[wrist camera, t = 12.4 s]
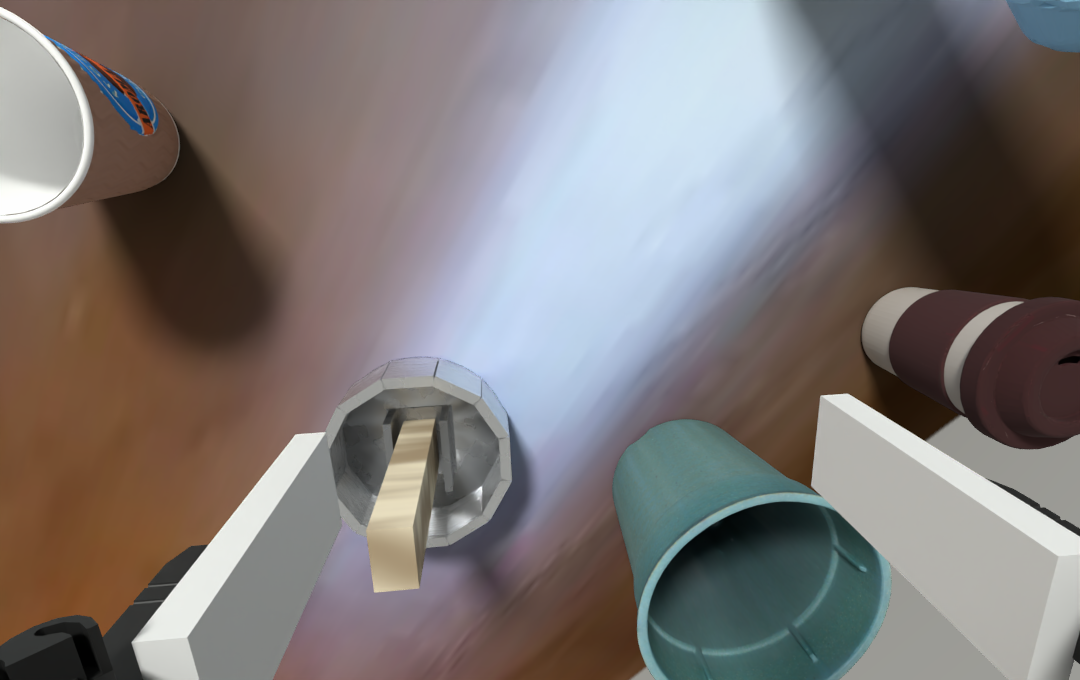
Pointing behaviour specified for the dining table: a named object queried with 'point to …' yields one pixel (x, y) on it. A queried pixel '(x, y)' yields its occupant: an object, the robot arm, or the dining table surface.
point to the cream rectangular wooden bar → (404, 509)
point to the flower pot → (741, 564)
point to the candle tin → (462, 435)
